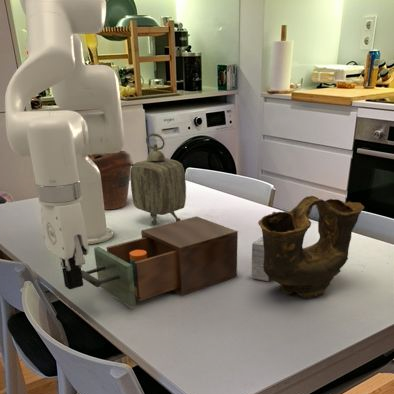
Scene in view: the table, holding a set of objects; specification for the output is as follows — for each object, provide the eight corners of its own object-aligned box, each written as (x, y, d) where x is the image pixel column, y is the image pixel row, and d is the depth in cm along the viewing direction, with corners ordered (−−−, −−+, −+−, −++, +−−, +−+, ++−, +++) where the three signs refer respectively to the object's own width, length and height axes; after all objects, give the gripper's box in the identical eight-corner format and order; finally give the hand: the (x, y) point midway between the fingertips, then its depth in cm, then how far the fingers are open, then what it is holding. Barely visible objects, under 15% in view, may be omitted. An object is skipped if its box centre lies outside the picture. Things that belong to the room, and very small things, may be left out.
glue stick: (129, 283, 111) (126, 252, 107) (143, 278, 113) (140, 248, 109) (138, 288, 108) (135, 257, 105) (152, 283, 110) (149, 253, 107)
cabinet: (181, 295, 110) (180, 247, 104) (144, 275, 120) (141, 230, 114) (236, 276, 118) (237, 231, 112) (197, 258, 128) (196, 216, 122)
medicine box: (268, 282, 114) (270, 245, 110) (250, 278, 117) (251, 242, 112) (282, 270, 120) (285, 234, 116) (265, 266, 122) (267, 231, 118)
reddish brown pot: (87, 197, 180) (80, 143, 171) (142, 198, 177) (138, 143, 168) (69, 211, 165) (60, 153, 156) (129, 213, 162) (124, 153, 153)
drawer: (106, 316, 100) (100, 274, 96) (75, 293, 109) (68, 254, 105) (188, 288, 111) (187, 248, 106) (153, 269, 120) (151, 232, 115)
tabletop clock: (187, 223, 152) (184, 133, 139) (166, 231, 146) (161, 138, 133) (152, 214, 160) (146, 129, 147) (131, 222, 154) (123, 133, 141)
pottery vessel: (329, 267, 121) (339, 182, 110) (364, 283, 113) (379, 192, 103) (244, 293, 110) (247, 201, 99) (277, 312, 102) (284, 214, 91)
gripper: (23, 188, 94) (41, 280, 104) (57, 204, 84) (73, 304, 94) (60, 181, 98) (74, 270, 108) (97, 196, 88) (109, 293, 98)
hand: (74, 286), depth 101 cm, fingers closed
